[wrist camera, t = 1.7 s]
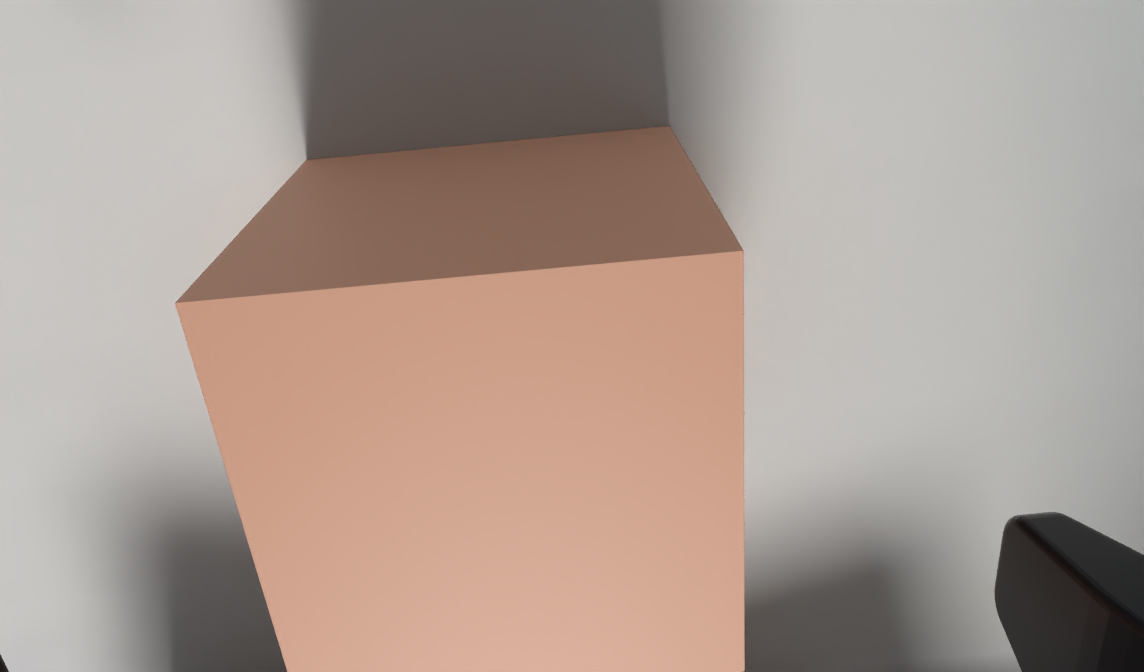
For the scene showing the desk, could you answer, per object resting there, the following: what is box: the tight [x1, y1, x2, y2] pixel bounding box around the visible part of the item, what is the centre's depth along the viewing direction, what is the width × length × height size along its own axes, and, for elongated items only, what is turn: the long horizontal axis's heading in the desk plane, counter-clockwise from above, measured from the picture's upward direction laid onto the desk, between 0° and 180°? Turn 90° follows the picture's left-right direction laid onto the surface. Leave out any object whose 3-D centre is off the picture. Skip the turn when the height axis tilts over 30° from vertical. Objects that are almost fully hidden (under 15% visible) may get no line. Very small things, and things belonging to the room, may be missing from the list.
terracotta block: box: [175, 126, 745, 672], centre depth 11 cm, size 5×5×5 cm
